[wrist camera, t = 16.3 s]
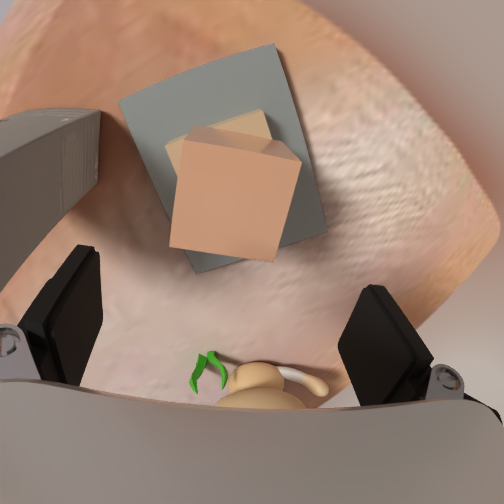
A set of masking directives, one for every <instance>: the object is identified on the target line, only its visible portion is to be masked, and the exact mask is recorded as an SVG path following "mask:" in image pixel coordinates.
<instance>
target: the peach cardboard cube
mask: <svg viewBox="0 0 504 504" xmlns="http://www.w3.org/2000/svg"><path fill="white" fill-rule="evenodd" d="M301 164H302V162H301V161H300V160H299V159H298V157H297V156H296V155H295V154H294V153H293V152H292V151H291V150H290V149H289V148H288V147H287V146H286V145H285V144H284V143H283V142H282V141H278V140H274V139H269V138H264V137H259V136H255V135H250V134H244V133H239V132H234V131H228V130H223V129H217V128H211V127H205V126H198V125H194V126H193V128H192V129H191V131H190V132H189V133H188V135H187V136H186V137H185V139H184V141H183V147H182V153H181V159H180V166H179V172H178V179H177V186H176V193H175V201H174V208H173V217H172V225H171V234H170V243H169V247H174V248H180V249H187V250H193V251H200V252H207V253H213V254H220V255H227V256H233V257H240V258H247V259H254V260H260V261H267V262H274V259H275V256H276V252H277V249H278V246H279V242H280V239H281V235H282V232H283V228H284V225H285V221H286V218H287V214H288V211H289V207H290V204H291V200H292V197H293V193H294V190H295V186H296V182H297V179H298V175H299V172H300V168H301Z"/></svg>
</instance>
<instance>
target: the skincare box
mask: <svg viewBox="0 0 504 504" xmlns="http://www.w3.org/2000/svg"><path fill="white" fill-rule="evenodd" d="M100 118H101V110H95V109H79V108H48V109H35V110H26V111H23V112H20V113H17V114H14V115H11V116H9V117H6V118H4V119H1V120H0V292H1V291H2V290H3V288H4V287H5V286H6V284H7V283H8V282H9V280H10V279H11V278H12V276H13V275H14V274H15V273H16V271H17V270H18V269H19V268H20V266H21V265H22V264H23V262H24V261H25V260H26V259H27V258H28V256H29V255H30V254H31V253H32V252H33V251H34V249H35V248H36V247H37V246H38V245H39V244H40V242H41V241H42V240H43V239H44V238H45V237H46V236H47V234H48V233H49V232H50V231H51V230H52V229H53V228H54V227H55V225H56V224H57V223H58V222H59V221H60V220H61V219H62V218H63V217H64V216H65V215H66V214H67V213H68V212H69V211H70V210H71V209H72V208H73V207H74V206H75V204H76V203H77V202H78V201H79V200H80V199H81V198H82V197H84V196H85V195H86V194H87V193H88V192H89V191H90V190H91V189H92V188H93V187H94V186H95V185H96V184H97V183H98V153H99V133H100Z"/></svg>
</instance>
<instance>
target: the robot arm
mask: <svg viewBox="0 0 504 504" xmlns="http://www.w3.org/2000/svg"><path fill="white" fill-rule="evenodd" d="M102 322H103V309H102V295H101V278H100V255H99V252H96V251H95V249H94V247H92V246H85V245H77V246H76V247H75V248H74V250H73V251H72V252H71V254H70V255H69V256H68V257H67V259H66V260H65V261H64V263H63V264H62V265H61V267H60V268H59V269H58V271H57V272H56V274H55V275H54V276H53V278H52V279H49V280H48V281H47V282H46V284H45V285H44V287H43V288H42V289H41V291H40V292H39V294H38V295H37V297H36V298H35V299H34V301H33V302H32V304H31V305H30V307H29V308H28V310H27V311H26V313H25V314H24V316H23V317H22V319H21V320H20V322H19V324H18V325H17V326H15V325H12V324H0V504H504V427H503V424H502V420H501V418H500V415H499V413H498V412H497V411H496V410H495V409H492V408H491V407H489V406H487V405H485V404H483V403H481V402H480V401H478V400H476V399H474V398H473V397H471V396H469V395H467V394H465V393H464V382H463V379H462V377H461V376H460V374H459V373H458V372H457V371H455V370H454V369H453V368H451V367H450V366H447V365H444V364H438V365H435V366H434V367H433V368H431V367H430V364H431V362H432V361H433V360H434V357H433V356H432V354H431V353H430V351H429V350H428V348H427V347H426V345H425V344H424V342H423V341H422V339H421V338H420V336H419V335H418V333H417V332H416V330H415V329H414V327H413V326H412V325H411V323H410V322H409V320H408V319H407V317H406V316H405V314H404V313H403V312H402V310H401V309H400V307H399V306H398V305H397V303H396V302H395V300H394V299H393V298H392V296H391V295H390V293H389V292H388V291H387V289H386V288H385V287H384V286H381V285H372V284H370V285H368V286H367V287H366V288H364V289H363V290H362V292H361V294H360V296H359V299H358V301H357V303H356V305H355V308H354V310H353V312H352V314H351V316H350V318H349V321H348V323H347V325H346V327H345V329H344V331H343V333H342V335H341V337H340V339H339V342H338V351H339V353H340V356H341V358H342V361H343V363H344V366H345V368H346V370H347V373H348V375H349V378H350V380H351V383H352V385H353V388H354V390H355V393H356V395H357V398H358V400H359V403H360V407H344V408H323V409H322V408H321V409H320V408H319V409H258V408H235V407H219V406H206V405H195V404H185V403H176V402H168V401H160V400H153V399H146V398H140V397H134V396H127V395H121V394H115V393H109V392H104V391H99V390H94V389H89V388H84V387H79V386H80V383H81V380H82V377H83V374H84V371H85V368H86V365H87V363H88V360H89V357H90V354H91V352H92V349H93V346H94V344H95V341H96V339H97V336H98V333H99V331H100V328H101V326H102Z"/></svg>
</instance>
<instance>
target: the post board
mask: <svg viewBox="0 0 504 504" xmlns="http://www.w3.org/2000/svg"><path fill="white" fill-rule="evenodd" d="M118 103H119V105H120V108H121V110H122V113H123V115H124V118H125V120H126V122H127V125H128V127H129V130H130V132H131V134H132V137H133V139H134V142H135V144H136V146H137V149H138V151H139V153H140V156H141V158H142V160H143V163H144V165H145V167H146V169H147V172H148V174H149V176H150V178H151V181H152V183H153V185H154V187H155V189H156V192H157V194H158V196H159V198H160V200H161V203H162V205H163V207H164V209H165V211H166V213H167V216H168V218H169V220H170V222H171V224H172V217H173V208H174V201H175V193H176V186H177V179H178V172H179V166H180V159H181V153H182V147H183V141H184V139H185V137H186V136H187V135H188V133H189V132H190V131H191V129H192V128H193V126H194V125H198V126H205V127H211V128H217V129H223V130H228V131H234V132H239V133H244V134H250V135H255V136H259V137H264V138H269V139H274V140H278V141H282V142H283V143H284V144H285V145H286V146H287V147H288V148H289V149H290V150H291V151H292V152H293V153H294V154H295V155H296V156H297V157H298V159H299V160H300V161H301V162H302V164H301V168H300V172H299V175H298V179H297V182H296V186H295V190H294V193H293V197H292V200H291V204H290V207H289V211H288V214H287V218H286V221H285V225H284V228H283V232H282V235H281V239H280V242H279V246H278V248H280V247H283V246H286V245H289V244H292V243H295V242H298V241H302V240H305V239H308V238H311V237H314V236H317V235H320V234H323V233H326V232H328V230H327V226H326V221H325V217H324V213H323V209H322V204H321V200H320V196H319V192H318V188H317V184H316V180H315V176H314V173H313V169H312V165H311V161H310V158H309V154H308V150H307V147H306V143H305V140H304V136H303V133H302V129H301V126H300V122H299V119H298V115H297V112H296V109H295V106H294V102H293V99H292V96H291V93H290V89H289V86H288V83H287V80H286V77H285V74H284V71H283V68H282V65H281V62H280V59H279V56H278V53H277V50H276V47H275V45H274V44H270V45H266V46H262V47H258V48H255V49H251V50H248V51H244V52H241V53H238V54H234V55H231V56H228V57H225V58H222V59H219V60H216V61H213V62H210V63H207V64H204V65H201V66H199V67H196V68H193V69H191V70H188V71H185V72H183V73H180V74H178V75H175V76H173V77H170V78H168V79H165V80H163V81H161V82H158V83H156V84H154V85H151V86H149V87H147V88H145V89H142V90H140V91H138V92H136V93H134V94H132V95H130V96H127V97H125V98H123V99H121V100H119V101H118ZM184 251H185V253H186V255H187V257H188V259H189V261H190V263H191V265H192V267H193V269H194V271H195V273H196V274H199V273H202V272H205V271H208V270H211V269H214V268H217V267H221V266H224V265H227V264H230V263H233V262H236V261H239V260H242V259H246V258H240V257H233V256H227V255H220V254H213V253H207V252H200V251H193V250H187V249H184Z"/></svg>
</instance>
